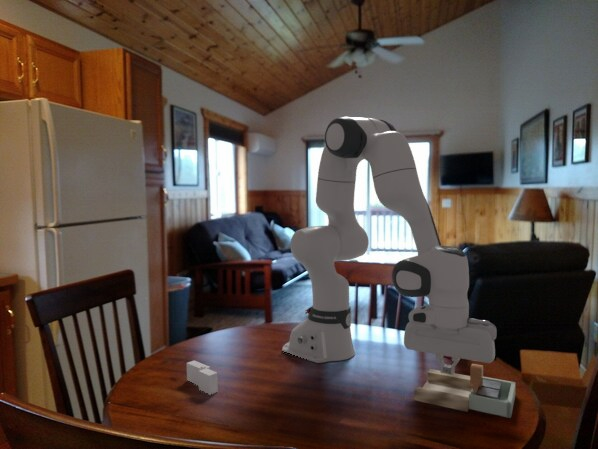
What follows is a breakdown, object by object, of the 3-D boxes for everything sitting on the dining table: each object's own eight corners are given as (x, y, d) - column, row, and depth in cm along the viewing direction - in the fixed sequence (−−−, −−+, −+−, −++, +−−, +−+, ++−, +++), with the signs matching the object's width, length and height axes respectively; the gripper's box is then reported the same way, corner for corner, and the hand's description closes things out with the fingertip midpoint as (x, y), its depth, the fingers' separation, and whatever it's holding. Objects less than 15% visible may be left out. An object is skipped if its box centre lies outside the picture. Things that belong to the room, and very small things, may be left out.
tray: (468, 413, 95) (468, 395, 95) (477, 391, 105) (477, 375, 105) (510, 422, 91) (511, 403, 90) (515, 399, 101) (515, 382, 101)
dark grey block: (480, 398, 99) (480, 385, 99) (482, 391, 103) (482, 379, 103) (499, 402, 97) (499, 389, 97) (501, 395, 101) (501, 382, 101)
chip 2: (477, 406, 95) (477, 393, 95) (479, 399, 99) (479, 386, 99) (496, 411, 93) (497, 397, 93) (498, 403, 97) (499, 390, 97)
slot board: (414, 404, 99) (414, 391, 99) (430, 379, 112) (430, 368, 112) (467, 416, 94) (467, 402, 93) (478, 389, 106) (478, 377, 106)
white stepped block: (180, 379, 116) (180, 358, 116) (224, 375, 118) (223, 354, 118) (174, 405, 102) (173, 381, 101) (223, 400, 103) (223, 377, 103)
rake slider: (467, 403, 96) (467, 372, 96) (474, 388, 104) (474, 358, 104) (479, 405, 95) (479, 374, 95) (484, 390, 103) (485, 360, 102)
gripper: (498, 318, 99) (497, 377, 100) (409, 307, 110) (409, 360, 110) (495, 325, 94) (493, 387, 95) (402, 313, 104) (401, 369, 105)
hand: (447, 373), depth 103 cm, fingers closed
